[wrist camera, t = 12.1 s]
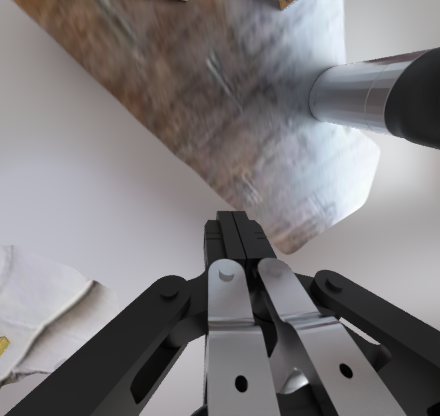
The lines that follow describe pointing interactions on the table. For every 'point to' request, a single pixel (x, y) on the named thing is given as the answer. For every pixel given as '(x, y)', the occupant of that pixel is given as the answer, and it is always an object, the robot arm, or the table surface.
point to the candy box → (3, 344)
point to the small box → (286, 3)
